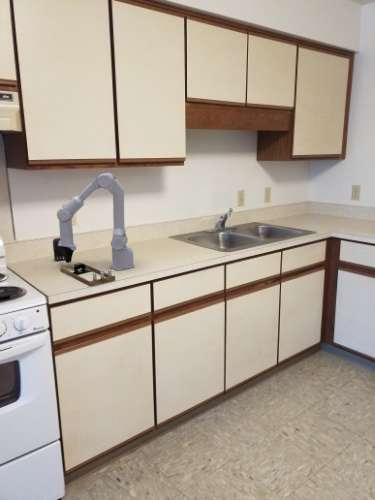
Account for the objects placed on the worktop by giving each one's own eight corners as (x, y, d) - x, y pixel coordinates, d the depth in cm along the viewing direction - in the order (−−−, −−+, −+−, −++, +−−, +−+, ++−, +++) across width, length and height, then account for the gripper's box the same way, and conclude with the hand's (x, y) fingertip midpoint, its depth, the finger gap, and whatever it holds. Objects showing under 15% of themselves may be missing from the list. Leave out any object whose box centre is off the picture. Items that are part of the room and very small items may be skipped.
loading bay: (83, 266, 187) (83, 256, 186) (115, 280, 167) (115, 269, 165) (60, 271, 180) (59, 260, 179) (90, 286, 159) (90, 274, 158)
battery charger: (55, 262, 195) (53, 239, 192) (53, 260, 198) (51, 238, 196) (69, 260, 199) (68, 237, 196) (67, 258, 202) (65, 236, 199)
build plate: (72, 278, 171) (71, 268, 170) (63, 275, 176) (62, 265, 175) (96, 272, 180) (95, 262, 179) (86, 269, 185) (86, 259, 184)
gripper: (51, 232, 185) (53, 260, 188) (65, 237, 174) (67, 267, 178) (65, 230, 190) (67, 258, 193) (79, 235, 179) (81, 264, 182)
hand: (68, 262), depth 186 cm, fingers closed
